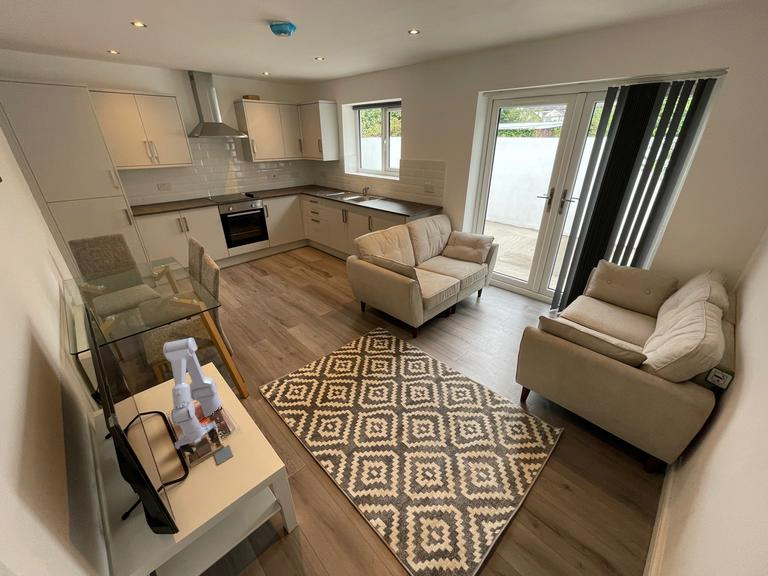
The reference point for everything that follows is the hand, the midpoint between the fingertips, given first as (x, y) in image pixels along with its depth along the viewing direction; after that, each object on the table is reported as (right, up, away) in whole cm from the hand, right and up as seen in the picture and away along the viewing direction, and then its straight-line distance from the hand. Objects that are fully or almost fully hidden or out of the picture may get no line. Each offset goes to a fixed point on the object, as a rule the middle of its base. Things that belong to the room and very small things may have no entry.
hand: (203, 446), depth 127 cm
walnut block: (0, -2, +2) cm, 3 cm away
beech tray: (-2, -1, +4) cm, 5 cm away
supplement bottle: (-6, 0, +6) cm, 8 cm away
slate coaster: (+9, -3, 0) cm, 9 cm away
